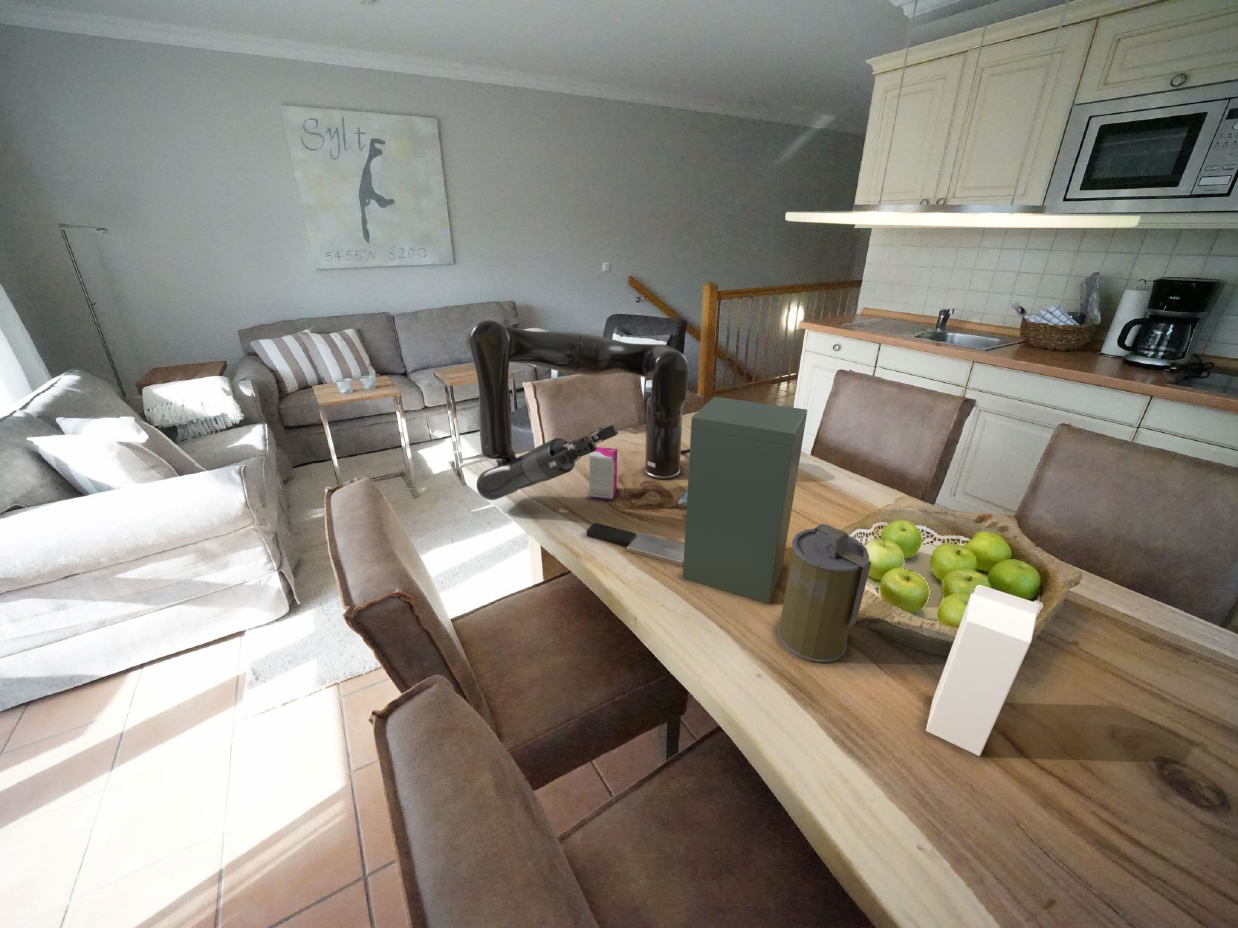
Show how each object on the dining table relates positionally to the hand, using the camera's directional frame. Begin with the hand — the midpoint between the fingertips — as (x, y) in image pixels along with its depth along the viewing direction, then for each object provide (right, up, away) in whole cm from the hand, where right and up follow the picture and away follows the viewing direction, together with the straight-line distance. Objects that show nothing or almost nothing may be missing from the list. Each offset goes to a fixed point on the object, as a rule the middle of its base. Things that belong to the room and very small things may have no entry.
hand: (605, 436), depth 98 cm
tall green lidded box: (+24, -26, -2) cm, 36 cm away
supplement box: (-1, -13, +27) cm, 30 cm away
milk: (+47, -40, -31) cm, 69 cm away
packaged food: (+23, -16, +20) cm, 35 cm away
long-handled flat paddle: (+6, -22, +7) cm, 24 cm away
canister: (+34, -33, -17) cm, 50 cm away
